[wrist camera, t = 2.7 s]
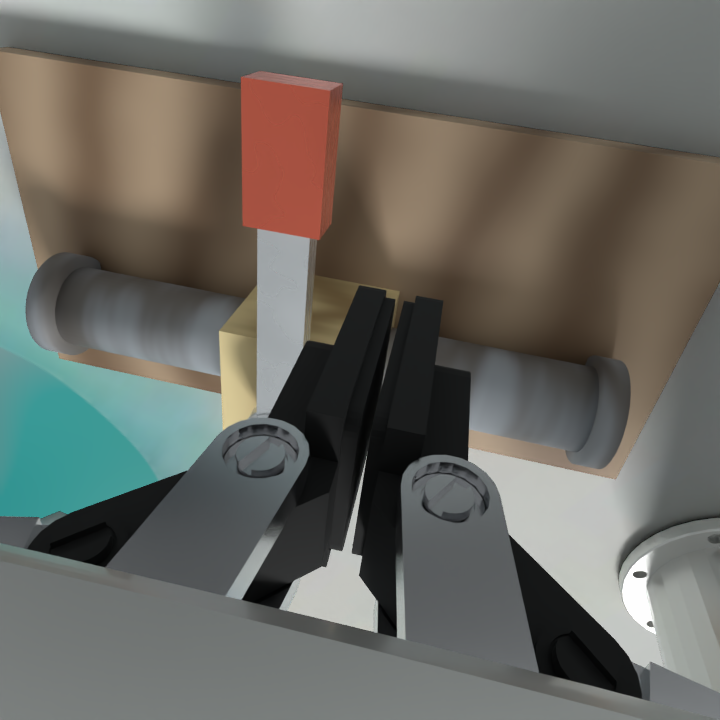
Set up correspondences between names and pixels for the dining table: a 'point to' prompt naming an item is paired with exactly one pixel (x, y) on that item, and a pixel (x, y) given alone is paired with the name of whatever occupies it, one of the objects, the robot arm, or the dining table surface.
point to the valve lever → (286, 209)
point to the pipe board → (366, 249)
